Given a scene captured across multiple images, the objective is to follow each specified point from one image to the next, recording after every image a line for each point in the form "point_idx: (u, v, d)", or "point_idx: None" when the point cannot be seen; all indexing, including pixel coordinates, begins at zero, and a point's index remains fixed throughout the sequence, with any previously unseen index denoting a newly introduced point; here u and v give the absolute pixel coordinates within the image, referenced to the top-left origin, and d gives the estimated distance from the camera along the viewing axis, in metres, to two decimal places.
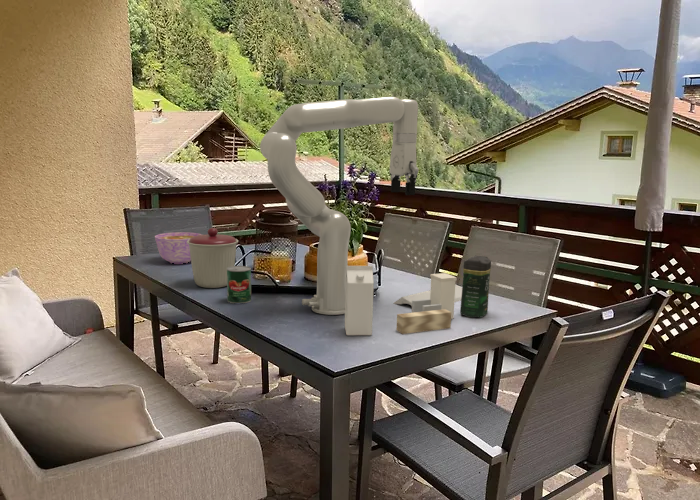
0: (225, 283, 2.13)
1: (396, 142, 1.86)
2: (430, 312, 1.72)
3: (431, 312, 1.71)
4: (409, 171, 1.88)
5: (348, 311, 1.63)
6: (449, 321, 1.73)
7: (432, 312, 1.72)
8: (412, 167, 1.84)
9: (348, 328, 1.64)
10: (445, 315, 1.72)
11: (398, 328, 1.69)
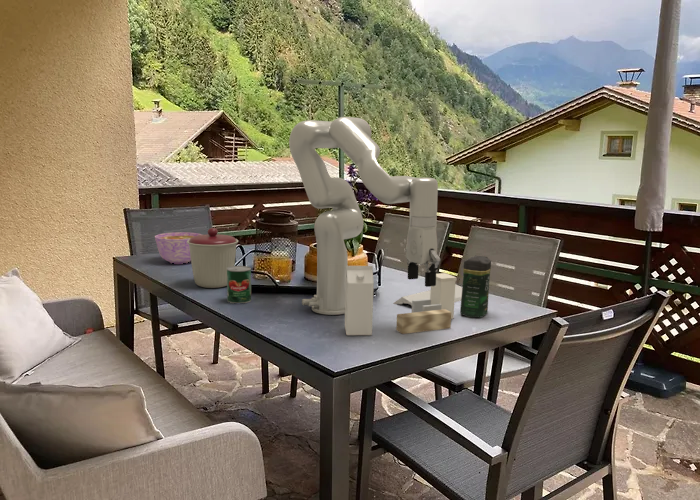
0: (225, 283, 2.13)
1: (414, 226, 1.63)
2: (430, 312, 1.72)
3: (431, 312, 1.71)
4: (429, 259, 1.64)
5: (348, 311, 1.63)
6: (449, 321, 1.73)
7: (432, 312, 1.72)
8: (433, 256, 1.60)
9: (348, 328, 1.64)
10: (445, 315, 1.72)
11: (398, 328, 1.69)
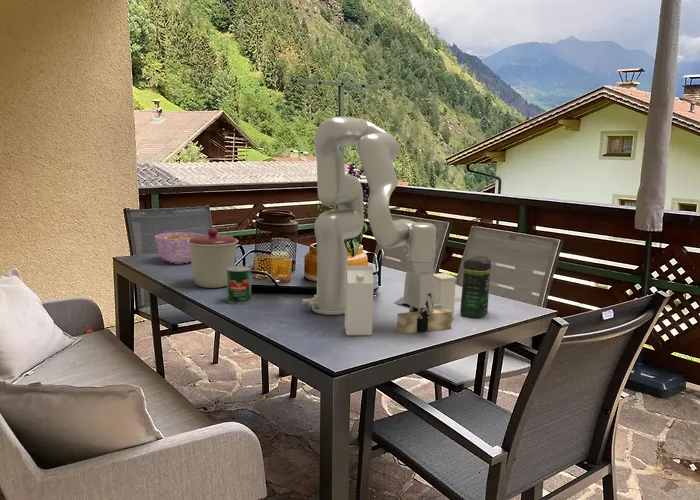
0: (225, 283, 2.13)
1: (412, 271, 1.65)
2: None
3: None
4: (424, 303, 1.67)
5: (348, 311, 1.63)
6: (450, 320, 1.72)
7: None
8: (427, 305, 1.64)
9: (348, 328, 1.64)
10: (446, 314, 1.72)
11: (399, 327, 1.69)
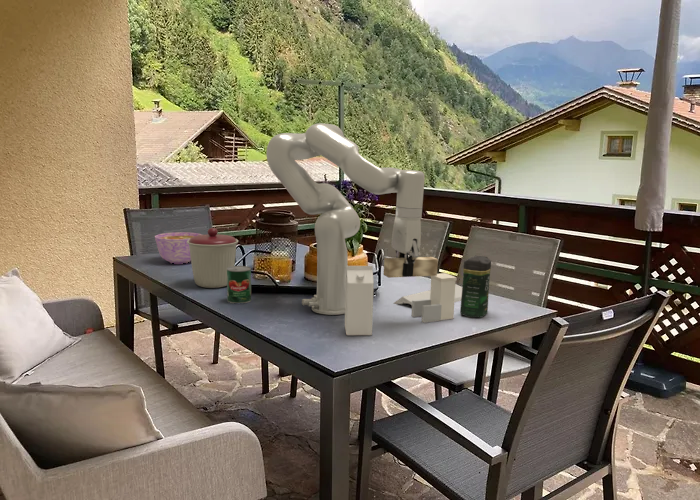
0: (225, 283, 2.13)
1: (399, 217, 1.70)
2: (417, 258, 1.76)
3: (418, 258, 1.76)
4: (411, 249, 1.72)
5: (348, 311, 1.63)
6: (436, 268, 1.77)
7: (419, 258, 1.76)
8: (413, 250, 1.69)
9: (348, 328, 1.64)
10: (432, 261, 1.76)
11: (385, 272, 1.74)
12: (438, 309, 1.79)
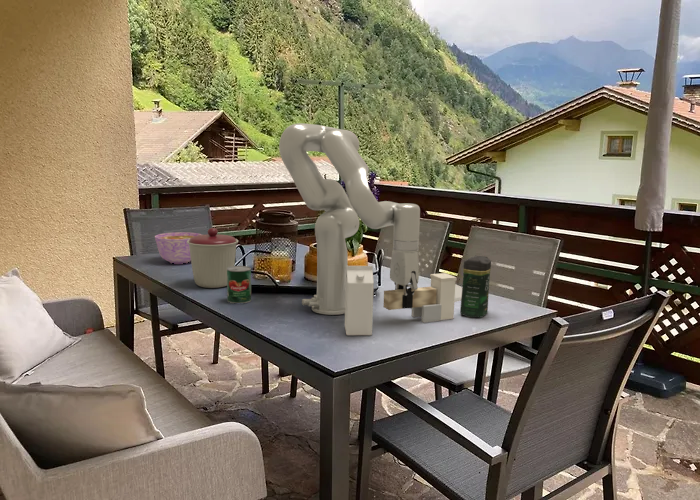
0: (225, 283, 2.13)
1: (397, 250, 1.72)
2: None
3: (417, 289, 1.79)
4: (409, 281, 1.75)
5: (348, 311, 1.63)
6: (435, 298, 1.80)
7: (418, 289, 1.79)
8: (412, 282, 1.71)
9: (348, 328, 1.64)
10: (431, 291, 1.79)
11: (385, 304, 1.76)
12: (438, 309, 1.79)
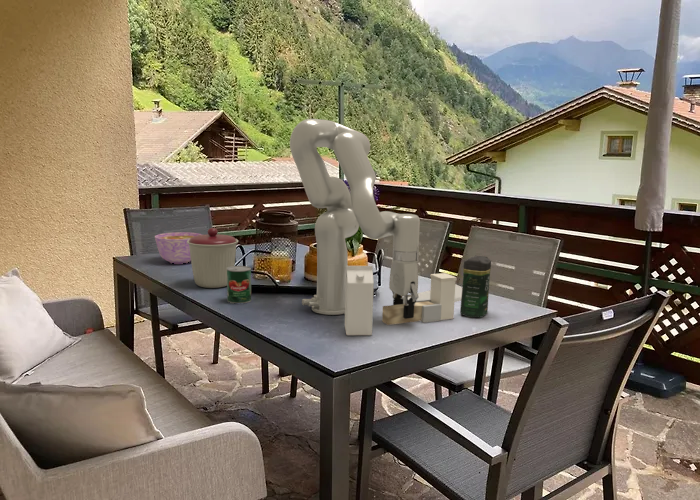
0: (225, 283, 2.13)
1: (396, 260, 1.73)
2: None
3: (415, 304, 1.80)
4: None
5: (348, 311, 1.63)
6: None
7: (416, 304, 1.80)
8: (412, 292, 1.71)
9: (348, 328, 1.64)
10: None
11: (384, 319, 1.77)
12: (438, 309, 1.79)
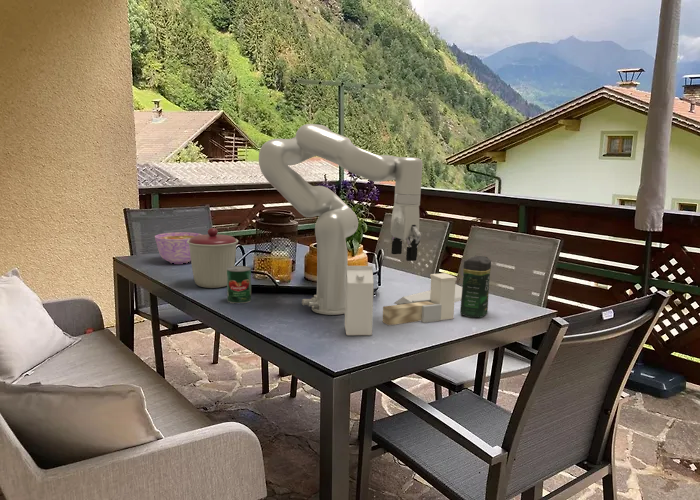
0: (225, 283, 2.13)
1: (398, 203, 1.72)
2: (414, 304, 1.80)
3: (415, 304, 1.80)
4: (411, 235, 1.73)
5: (348, 311, 1.63)
6: None
7: (416, 304, 1.80)
8: (414, 232, 1.69)
9: (348, 328, 1.64)
10: None
11: (384, 320, 1.76)
12: (438, 309, 1.79)
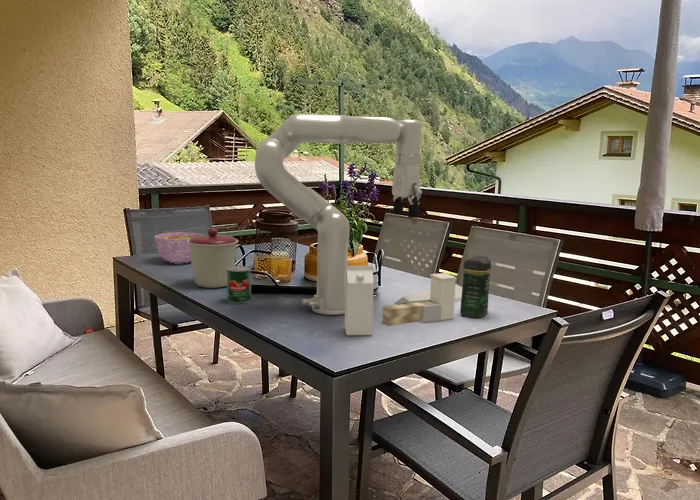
0: (225, 283, 2.13)
1: (399, 163, 1.81)
2: (414, 304, 1.80)
3: (415, 304, 1.79)
4: (412, 193, 1.83)
5: (348, 311, 1.63)
6: None
7: (416, 304, 1.80)
8: (415, 189, 1.79)
9: (348, 328, 1.64)
10: None
11: (384, 320, 1.76)
12: (438, 309, 1.79)
